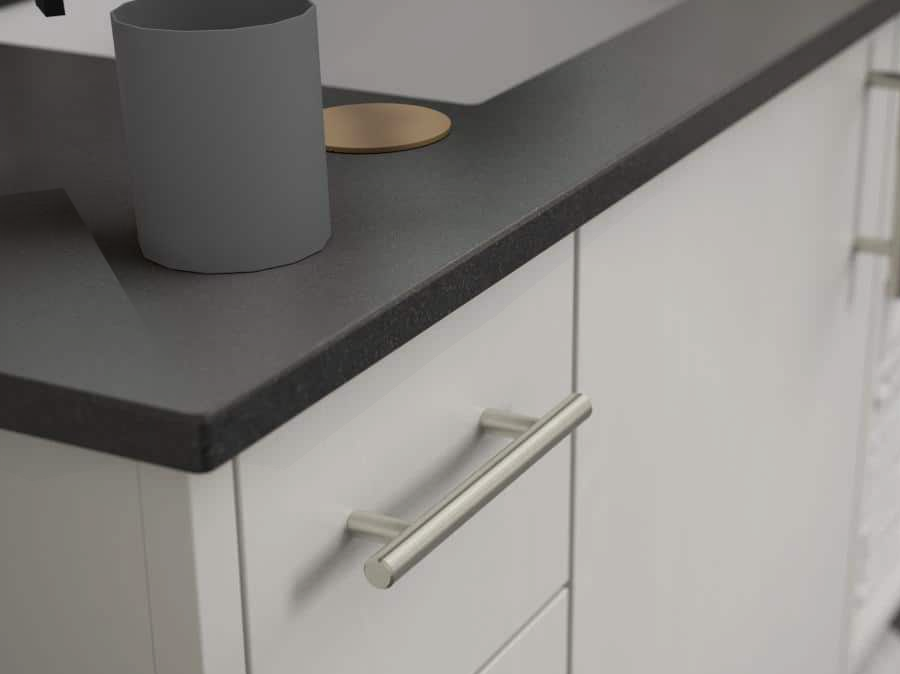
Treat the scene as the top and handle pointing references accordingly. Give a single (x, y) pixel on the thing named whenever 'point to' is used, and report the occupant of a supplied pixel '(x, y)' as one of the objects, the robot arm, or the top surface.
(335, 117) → the cork coaster
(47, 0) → the robot arm
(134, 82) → the cup
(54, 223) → the top surface
